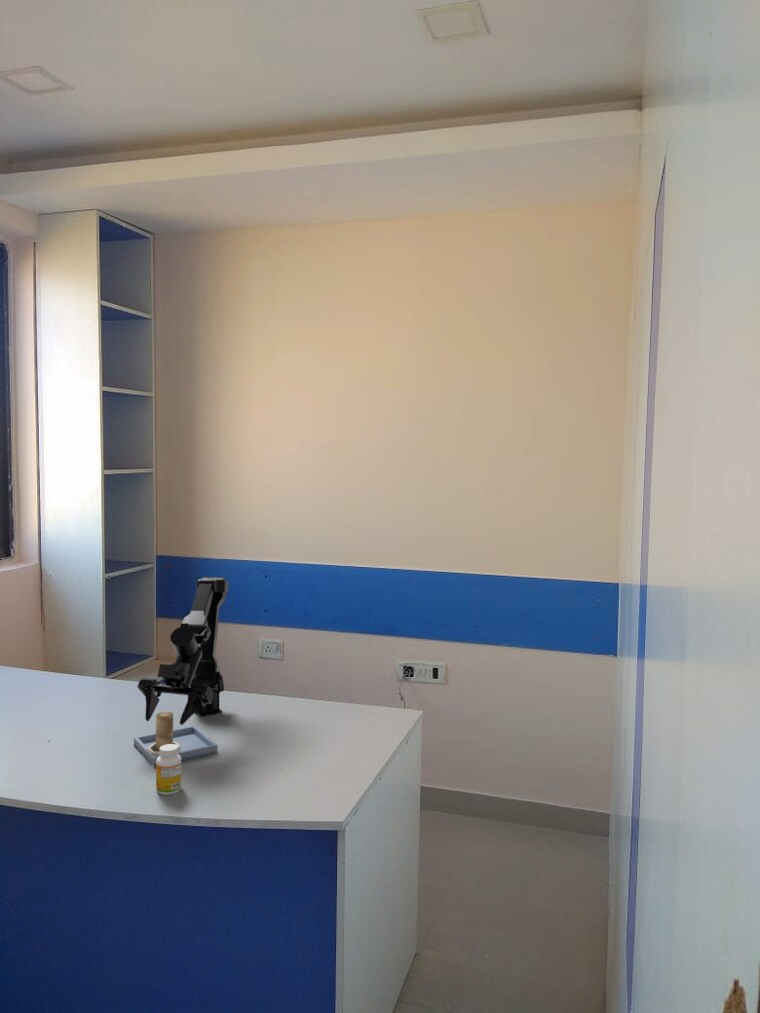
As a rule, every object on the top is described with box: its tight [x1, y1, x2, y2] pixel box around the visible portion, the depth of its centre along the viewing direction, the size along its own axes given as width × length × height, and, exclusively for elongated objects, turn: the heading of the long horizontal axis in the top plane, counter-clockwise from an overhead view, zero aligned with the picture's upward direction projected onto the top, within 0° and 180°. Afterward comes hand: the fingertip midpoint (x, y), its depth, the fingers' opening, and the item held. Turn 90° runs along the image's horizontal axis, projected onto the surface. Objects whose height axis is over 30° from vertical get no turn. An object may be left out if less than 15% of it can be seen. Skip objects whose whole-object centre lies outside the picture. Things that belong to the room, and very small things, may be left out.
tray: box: [133, 725, 219, 767], centre depth 191 cm, size 16×16×2 cm
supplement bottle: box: [155, 744, 183, 796], centre depth 168 cm, size 5×5×10 cm
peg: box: [155, 711, 174, 752], centre depth 186 cm, size 4×4×10 cm
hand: (163, 722), depth 185 cm, fingers open, 9 cm apart
